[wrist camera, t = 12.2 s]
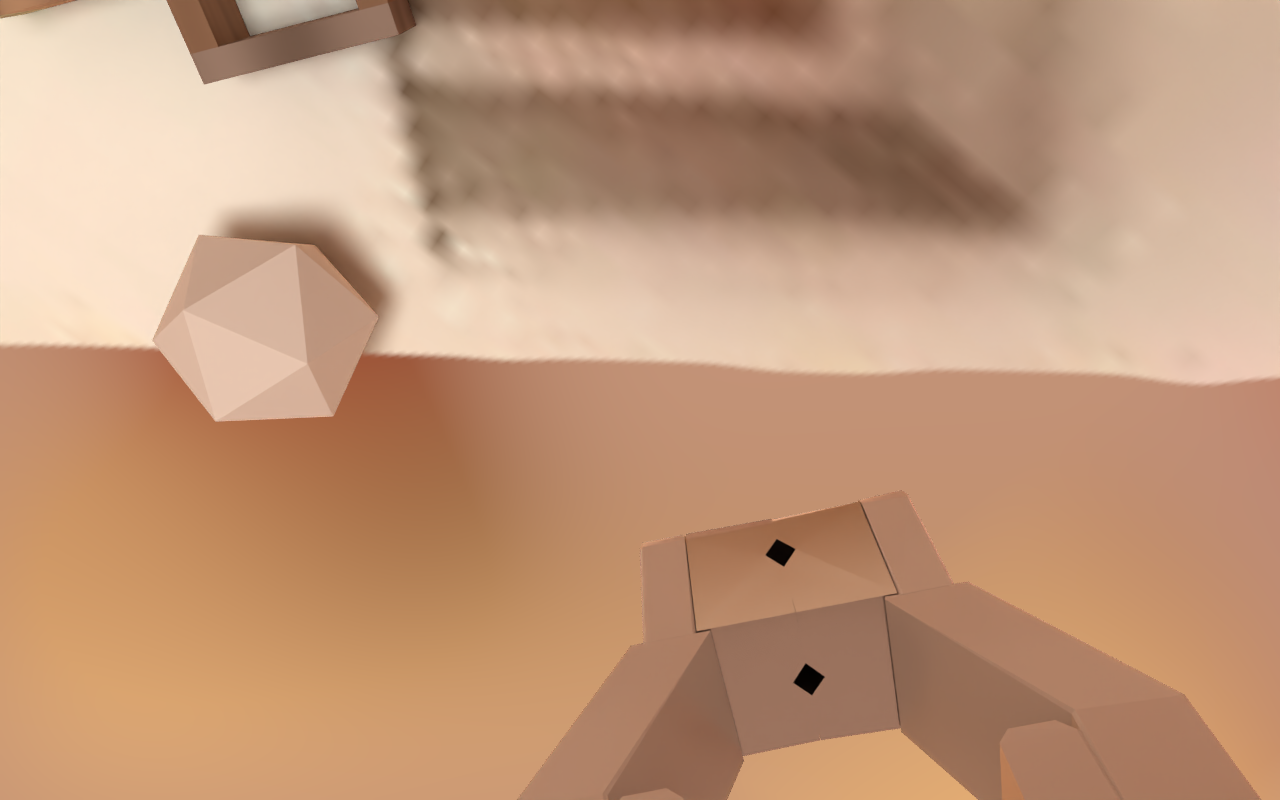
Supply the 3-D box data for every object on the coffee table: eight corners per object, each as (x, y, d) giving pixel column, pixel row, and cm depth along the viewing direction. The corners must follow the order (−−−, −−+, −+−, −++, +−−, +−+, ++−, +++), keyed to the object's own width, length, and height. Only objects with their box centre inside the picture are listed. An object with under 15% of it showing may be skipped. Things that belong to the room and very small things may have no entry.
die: (191, 199, 43) (75, 372, 38) (307, 167, 38) (191, 362, 33) (320, 304, 49) (234, 465, 44) (435, 289, 44) (351, 468, 39)
